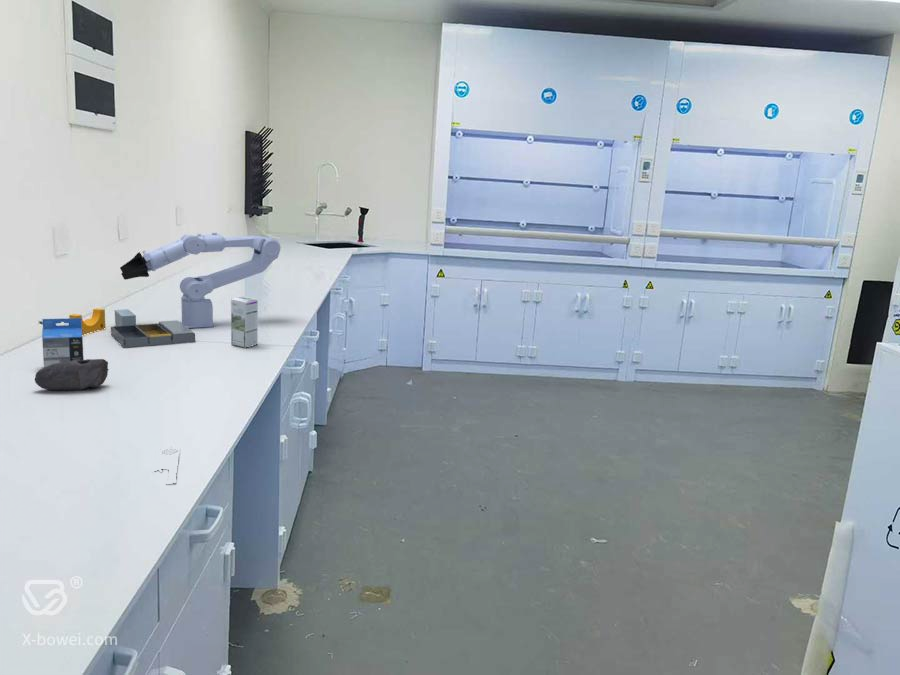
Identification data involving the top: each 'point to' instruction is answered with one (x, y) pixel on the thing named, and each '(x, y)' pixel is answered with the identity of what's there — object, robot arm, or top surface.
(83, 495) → the top surface
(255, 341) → the syrup box
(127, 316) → the tall blue-grey block
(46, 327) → the ink cartridge box
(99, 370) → the perforated stone tool
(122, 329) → the grey compartment tray
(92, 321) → the pipe clamp
